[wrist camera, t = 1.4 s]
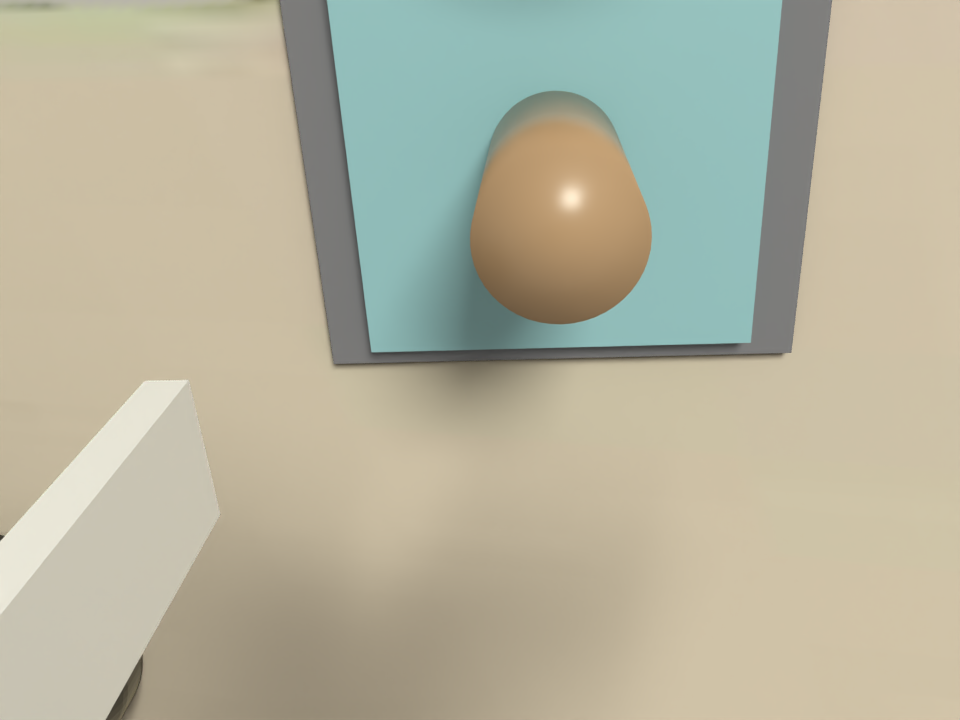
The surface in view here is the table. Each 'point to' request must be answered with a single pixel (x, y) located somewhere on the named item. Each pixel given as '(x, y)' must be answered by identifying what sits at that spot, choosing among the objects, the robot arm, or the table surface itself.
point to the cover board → (665, 139)
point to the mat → (770, 334)
